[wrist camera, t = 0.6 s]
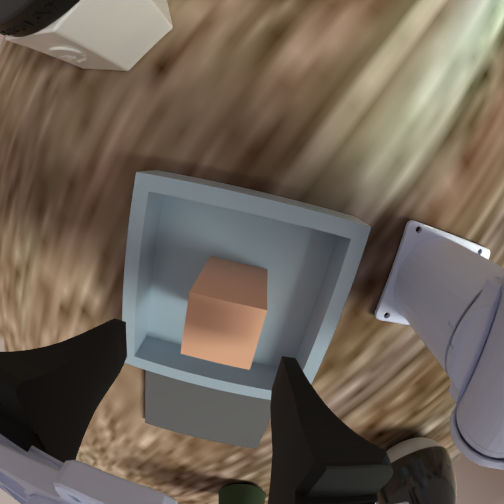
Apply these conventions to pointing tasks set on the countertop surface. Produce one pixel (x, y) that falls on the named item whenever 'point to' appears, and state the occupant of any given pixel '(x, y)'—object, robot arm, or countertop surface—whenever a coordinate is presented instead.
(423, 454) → the dark grey dome figure
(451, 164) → the countertop surface
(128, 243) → the bin
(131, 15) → the jar
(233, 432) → the mat
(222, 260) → the block
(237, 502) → the character mug
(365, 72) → the countertop surface
